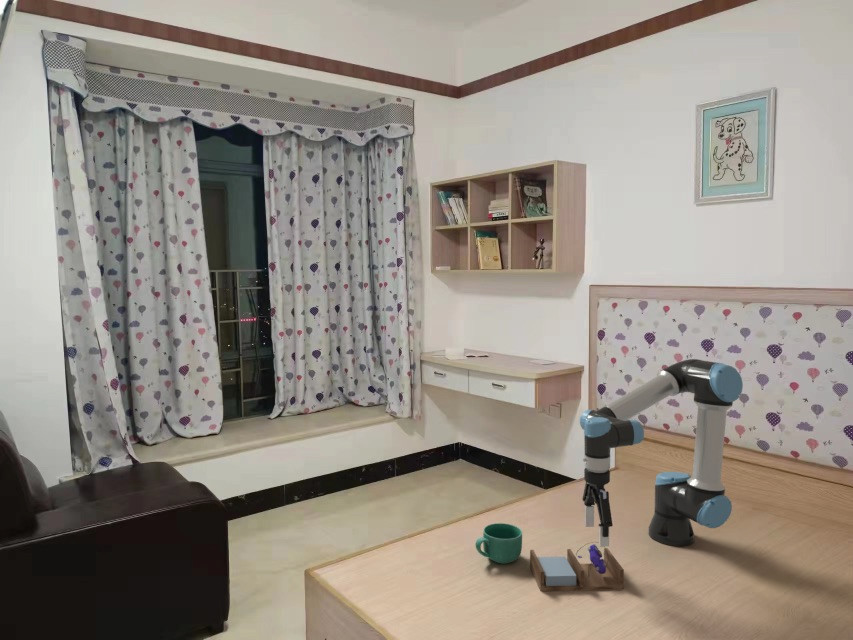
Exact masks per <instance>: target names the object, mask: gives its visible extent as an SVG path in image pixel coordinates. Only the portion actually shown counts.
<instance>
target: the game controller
mask: <svg viewBox="0 0 853 640" xmlns="http://www.w3.org/2000/svg"><path fill="white" fill-rule="evenodd" d="M592 543H594V541H591V542H589V543H586V544H584V545H583V546H581V547H580V548H579V550H581V549H582V548H583V547H585V546H586V545H588V544H589V545H590V544H591V545H590V546H589V547H588V548H587V550H588V553H589V560H590V562H591V563H589V564H590V565H592V564H594V565H595V567H596V571H598V572H599V573H600V574H604V573H605V572H606V567H605V566H607V565H606V563H605V561H604V558H603V553H602V552H601V550H599V548H598V546H597V545H596V544H597V543H598V544H599V542H598V541H596V544H592ZM604 548H605V549H606V548H607V547H604ZM579 550H577V551H576V553H575V556H577V558H579V559H582V558H583V556H582V555H578V554H577V553H578V552H579ZM606 551H607V550H606ZM607 554H608V553H607ZM607 564H608V562H607ZM590 565H589V567H590ZM590 569H591V567H590ZM589 575H590V574H589V570H588V576H589Z"/></svg>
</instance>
